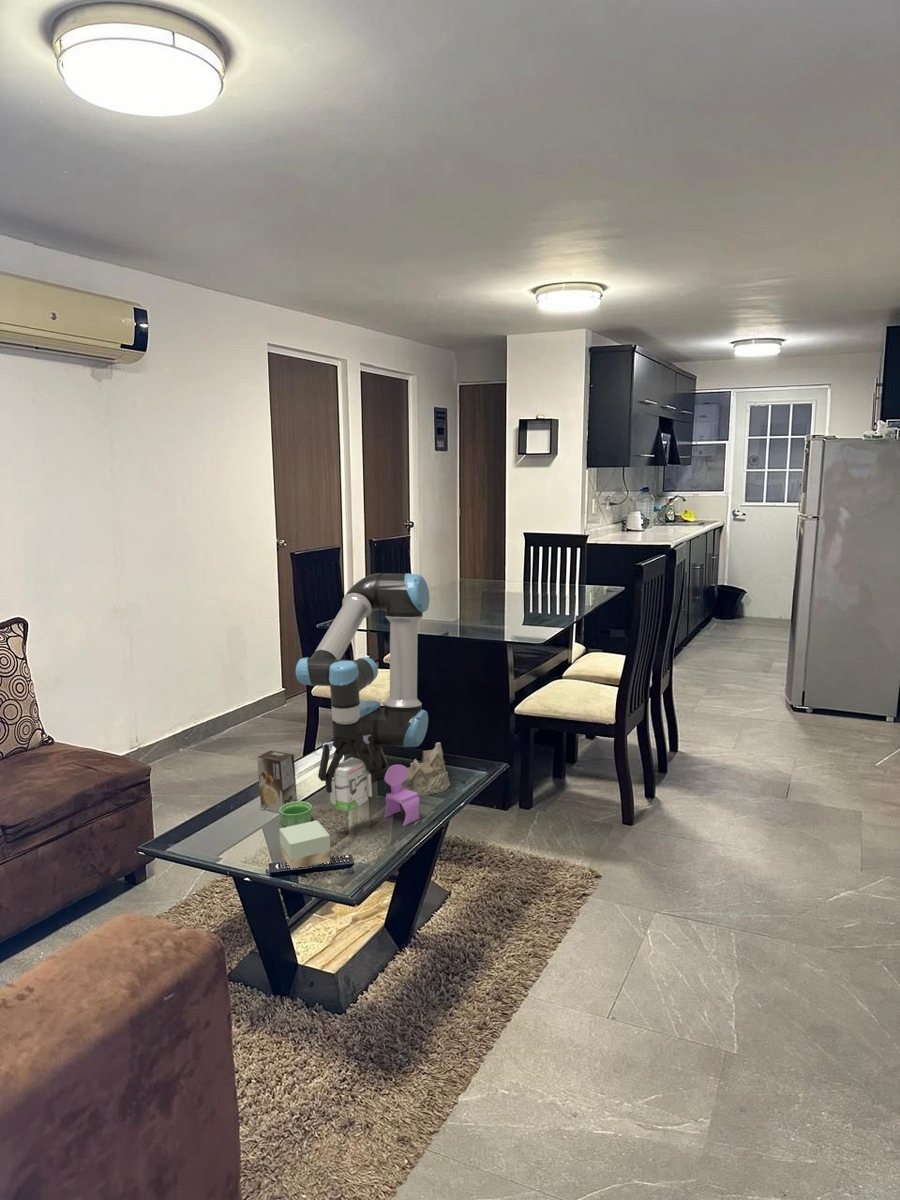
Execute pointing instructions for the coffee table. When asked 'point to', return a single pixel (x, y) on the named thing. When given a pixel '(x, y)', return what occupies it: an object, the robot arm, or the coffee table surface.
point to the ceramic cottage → (427, 773)
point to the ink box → (350, 784)
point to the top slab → (304, 839)
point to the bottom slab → (305, 859)
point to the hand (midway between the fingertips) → (351, 798)
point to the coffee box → (276, 780)
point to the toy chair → (400, 795)
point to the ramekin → (295, 813)
